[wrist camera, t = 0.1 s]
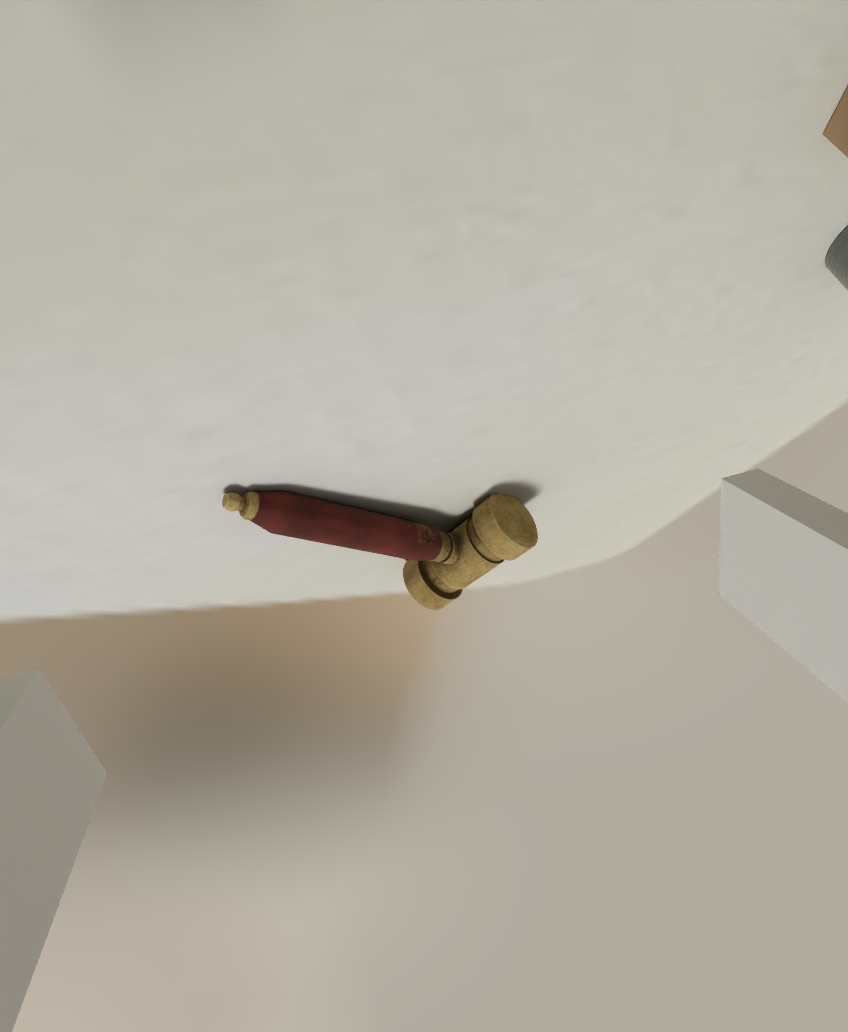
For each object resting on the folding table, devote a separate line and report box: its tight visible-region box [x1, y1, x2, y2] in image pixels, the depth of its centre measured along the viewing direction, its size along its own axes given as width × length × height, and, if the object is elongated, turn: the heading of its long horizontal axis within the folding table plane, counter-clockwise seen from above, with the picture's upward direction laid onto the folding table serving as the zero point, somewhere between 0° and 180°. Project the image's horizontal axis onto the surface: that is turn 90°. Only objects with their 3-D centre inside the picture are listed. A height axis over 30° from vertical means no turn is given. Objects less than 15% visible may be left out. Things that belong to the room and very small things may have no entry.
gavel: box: [222, 491, 538, 610], centre depth 38 cm, size 21×5×10 cm
